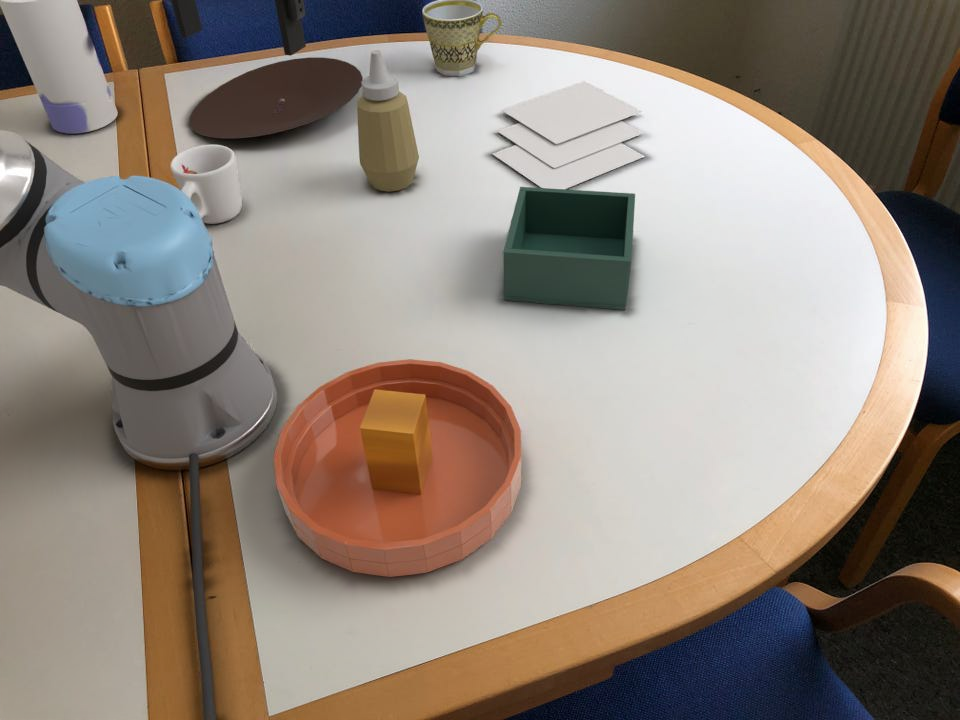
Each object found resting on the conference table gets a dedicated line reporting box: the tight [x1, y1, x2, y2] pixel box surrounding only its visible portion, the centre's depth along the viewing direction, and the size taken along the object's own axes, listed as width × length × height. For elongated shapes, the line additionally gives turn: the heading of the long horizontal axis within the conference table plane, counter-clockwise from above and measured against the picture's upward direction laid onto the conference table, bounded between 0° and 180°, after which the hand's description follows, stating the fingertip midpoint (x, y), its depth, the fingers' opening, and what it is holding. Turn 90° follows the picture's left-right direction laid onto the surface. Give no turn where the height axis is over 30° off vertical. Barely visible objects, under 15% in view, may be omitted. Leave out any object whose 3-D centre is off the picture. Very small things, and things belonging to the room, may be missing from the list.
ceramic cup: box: [421, 0, 502, 77], centre depth 133 cm, size 13×10×10 cm
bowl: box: [273, 358, 522, 578], centre depth 70 cm, size 21×21×4 cm
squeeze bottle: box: [356, 49, 420, 193], centre depth 103 cm, size 8×8×18 cm
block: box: [360, 390, 432, 494], centre depth 68 cm, size 4×4×8 cm
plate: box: [188, 56, 364, 139], centre depth 126 cm, size 28×28×4 cm
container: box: [0, 0, 119, 135], centre depth 120 cm, size 10×10×20 cm
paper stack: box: [492, 80, 645, 190], centre depth 117 cm, size 23×25×1 cm
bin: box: [502, 186, 636, 311], centre depth 91 cm, size 14×14×7 cm
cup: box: [169, 144, 243, 225], centre depth 101 cm, size 11×8×8 cm
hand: (242, 42), depth 84 cm, fingers open, 13 cm apart
